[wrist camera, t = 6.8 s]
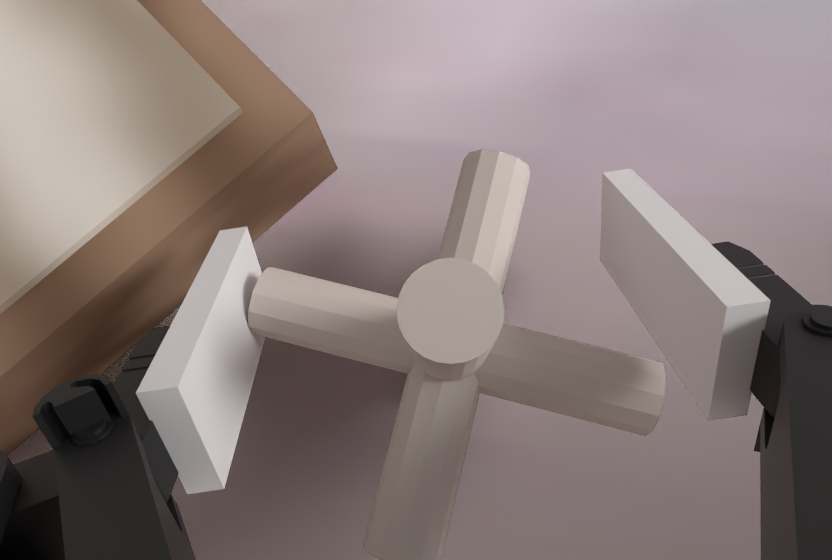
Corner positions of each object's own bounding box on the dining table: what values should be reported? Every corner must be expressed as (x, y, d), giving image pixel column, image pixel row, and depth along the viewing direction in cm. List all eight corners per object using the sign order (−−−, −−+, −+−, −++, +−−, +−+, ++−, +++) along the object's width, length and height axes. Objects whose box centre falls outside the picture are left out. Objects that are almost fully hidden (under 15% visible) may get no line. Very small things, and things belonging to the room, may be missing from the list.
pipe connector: (627, 260, 20) (792, 107, 10) (570, 566, 18) (711, 733, 8) (348, 196, 21) (263, 5, 12) (263, 477, 19) (70, 532, 9)
